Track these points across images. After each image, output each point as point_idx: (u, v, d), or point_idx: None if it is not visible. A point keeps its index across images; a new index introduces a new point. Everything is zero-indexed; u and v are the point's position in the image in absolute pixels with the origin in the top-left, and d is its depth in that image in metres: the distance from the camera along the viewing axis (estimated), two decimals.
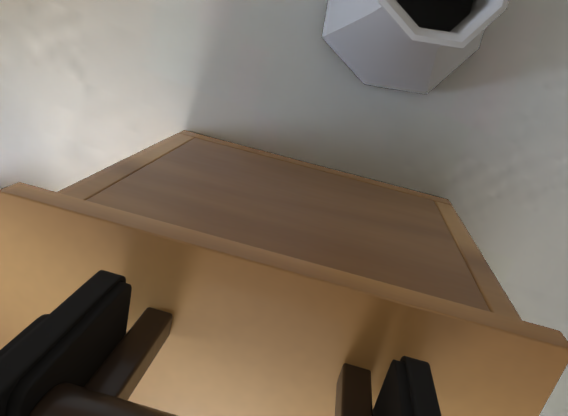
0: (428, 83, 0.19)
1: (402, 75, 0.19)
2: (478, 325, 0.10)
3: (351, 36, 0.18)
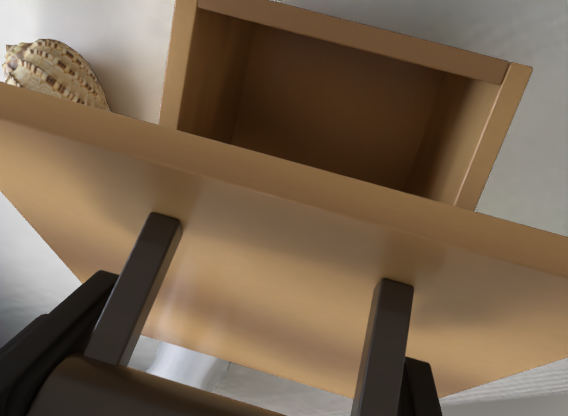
0: None
1: None
2: (566, 279, 0.08)
3: None
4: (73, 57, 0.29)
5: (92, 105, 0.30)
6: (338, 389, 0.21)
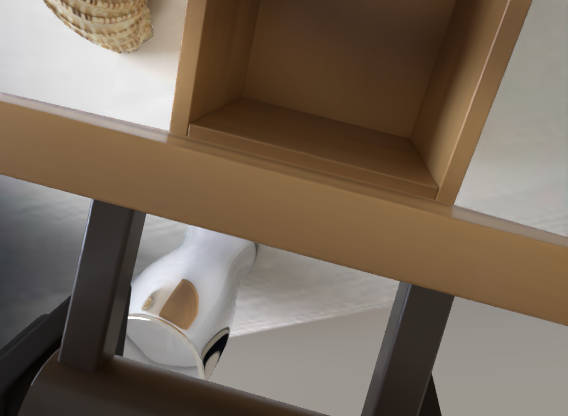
0: None
1: None
2: None
3: None
4: None
5: None
6: None
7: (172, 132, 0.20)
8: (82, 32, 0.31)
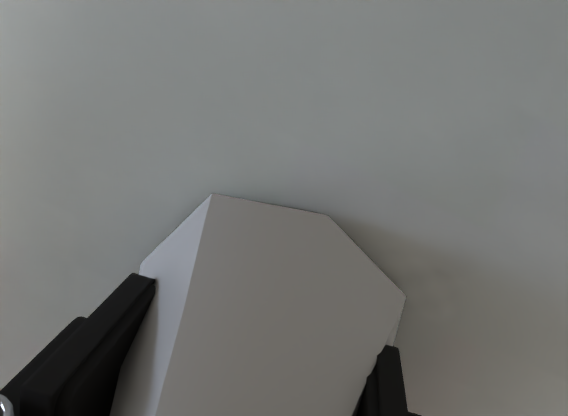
0: None
1: None
2: None
3: None
4: None
5: None
6: None
7: None
8: None
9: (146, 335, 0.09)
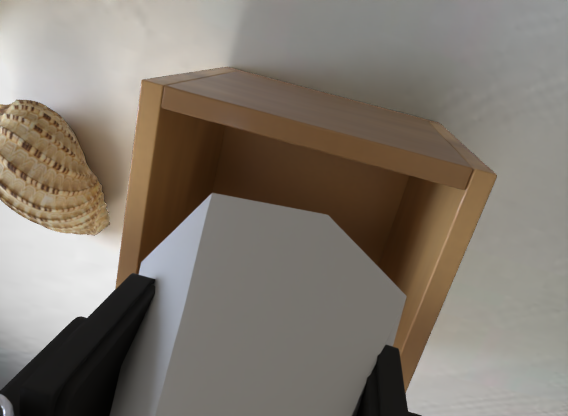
0: None
1: None
2: None
3: None
4: (50, 119, 0.29)
5: (70, 167, 0.30)
6: None
7: None
8: None
9: (147, 335, 0.09)
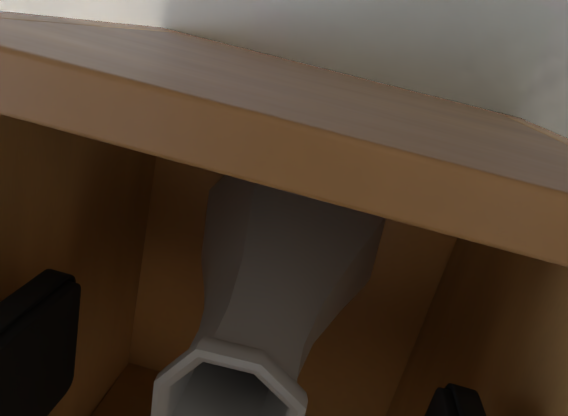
0: None
1: None
2: None
3: None
4: None
5: None
6: None
7: None
8: None
9: (226, 221, 0.15)
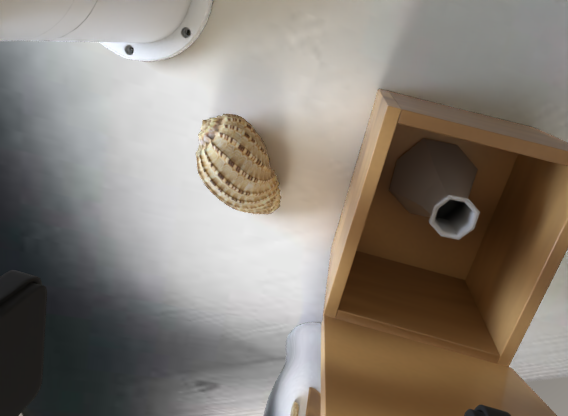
0: None
1: None
2: None
3: (407, 201, 0.39)
4: (251, 128, 0.40)
5: (264, 163, 0.41)
6: None
7: (335, 325, 0.32)
8: (230, 204, 0.43)
9: (418, 169, 0.38)
